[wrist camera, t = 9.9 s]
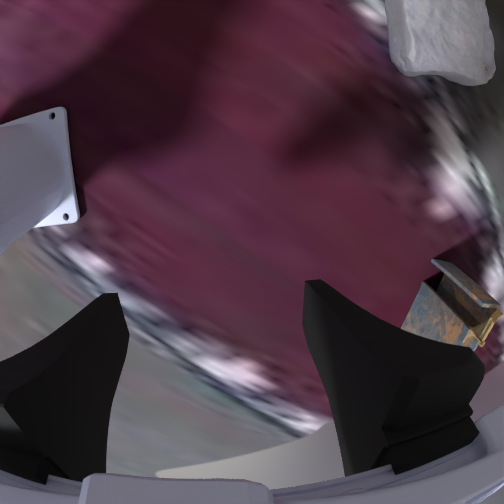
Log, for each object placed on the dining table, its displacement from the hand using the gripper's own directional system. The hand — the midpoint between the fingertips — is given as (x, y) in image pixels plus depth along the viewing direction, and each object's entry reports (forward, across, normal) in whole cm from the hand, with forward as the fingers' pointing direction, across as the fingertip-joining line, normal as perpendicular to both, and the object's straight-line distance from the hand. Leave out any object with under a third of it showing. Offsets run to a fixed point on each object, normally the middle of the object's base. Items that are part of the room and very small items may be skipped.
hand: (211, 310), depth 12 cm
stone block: (+11, -17, -16) cm, 26 cm away
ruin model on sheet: (+11, -18, +10) cm, 23 cm away
